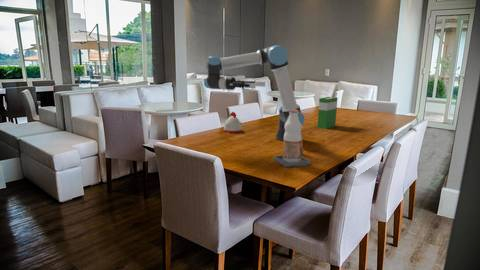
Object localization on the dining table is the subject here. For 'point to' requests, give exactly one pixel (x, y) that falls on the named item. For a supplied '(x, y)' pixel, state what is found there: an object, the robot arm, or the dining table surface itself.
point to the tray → (301, 163)
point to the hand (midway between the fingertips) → (260, 84)
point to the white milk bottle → (292, 138)
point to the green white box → (327, 112)
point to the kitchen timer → (232, 124)
